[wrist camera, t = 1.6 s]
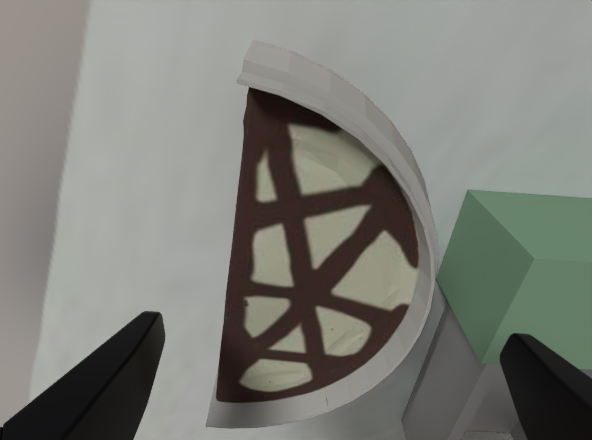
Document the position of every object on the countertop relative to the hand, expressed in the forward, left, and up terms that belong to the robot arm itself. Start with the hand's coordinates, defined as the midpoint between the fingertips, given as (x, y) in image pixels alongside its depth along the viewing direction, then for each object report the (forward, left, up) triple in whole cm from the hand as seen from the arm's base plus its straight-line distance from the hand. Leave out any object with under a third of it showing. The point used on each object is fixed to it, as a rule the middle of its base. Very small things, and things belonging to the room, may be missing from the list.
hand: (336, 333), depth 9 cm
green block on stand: (-14, +11, -10) cm, 20 cm away
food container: (0, 0, -11) cm, 11 cm away
